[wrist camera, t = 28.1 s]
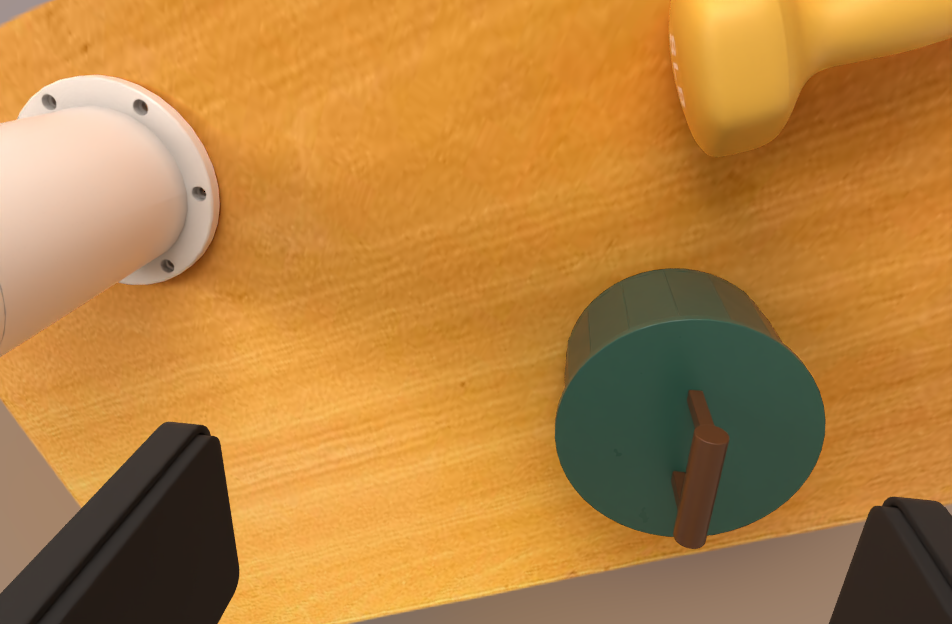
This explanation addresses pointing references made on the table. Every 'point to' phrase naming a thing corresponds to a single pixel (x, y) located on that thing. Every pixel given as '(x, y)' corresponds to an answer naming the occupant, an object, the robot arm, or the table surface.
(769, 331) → the pot
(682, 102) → the dumbbell
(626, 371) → the lid
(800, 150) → the table surface
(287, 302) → the table surface
